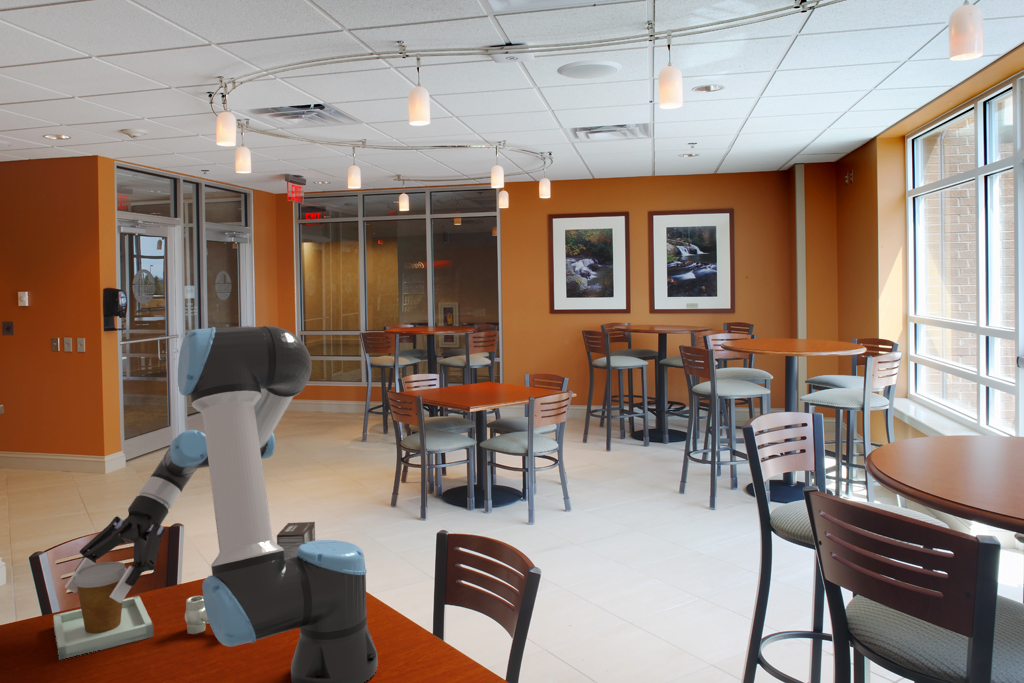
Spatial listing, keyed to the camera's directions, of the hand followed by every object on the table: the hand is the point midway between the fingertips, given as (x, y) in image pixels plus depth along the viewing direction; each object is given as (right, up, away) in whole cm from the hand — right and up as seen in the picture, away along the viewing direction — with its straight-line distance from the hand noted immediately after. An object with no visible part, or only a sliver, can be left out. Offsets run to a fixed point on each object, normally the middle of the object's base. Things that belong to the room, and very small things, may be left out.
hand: (92, 595), depth 142 cm
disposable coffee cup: (+1, -7, +2) cm, 8 cm away
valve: (+24, -8, +1) cm, 25 cm away
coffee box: (+36, -7, +18) cm, 41 cm away
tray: (+1, -8, +2) cm, 9 cm away
